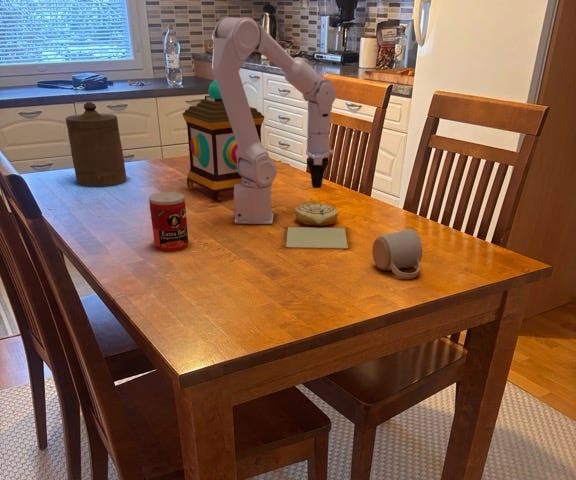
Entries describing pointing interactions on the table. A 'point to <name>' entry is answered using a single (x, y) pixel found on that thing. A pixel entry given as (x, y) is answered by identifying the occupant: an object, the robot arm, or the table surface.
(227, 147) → the decorative lantern
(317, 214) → the decorated donut
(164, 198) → the canned food
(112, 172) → the wooden container
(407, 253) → the ceramic mug
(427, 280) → the table surface
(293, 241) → the placemat
